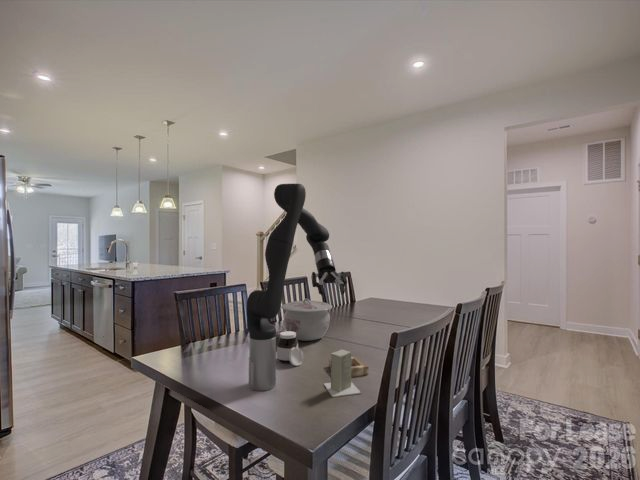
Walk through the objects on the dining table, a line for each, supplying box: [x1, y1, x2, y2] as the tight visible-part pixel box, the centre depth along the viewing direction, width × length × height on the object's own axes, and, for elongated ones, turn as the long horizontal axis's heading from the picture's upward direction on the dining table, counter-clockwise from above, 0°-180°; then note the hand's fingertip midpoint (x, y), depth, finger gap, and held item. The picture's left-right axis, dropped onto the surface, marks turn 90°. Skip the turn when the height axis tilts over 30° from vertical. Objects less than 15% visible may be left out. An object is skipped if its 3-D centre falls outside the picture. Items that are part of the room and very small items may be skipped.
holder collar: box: [328, 355, 369, 378], centre depth 130 cm, size 12×12×3 cm
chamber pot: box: [280, 298, 333, 342], centre depth 175 cm, size 28×28×21 cm
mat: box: [323, 381, 362, 398], centre depth 114 cm, size 10×10×1 cm
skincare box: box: [330, 348, 352, 392], centre depth 114 cm, size 6×4×12 cm
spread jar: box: [276, 330, 304, 367], centre depth 139 cm, size 12×11×12 cm
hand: (332, 293), depth 130 cm, fingers open, 8 cm apart
